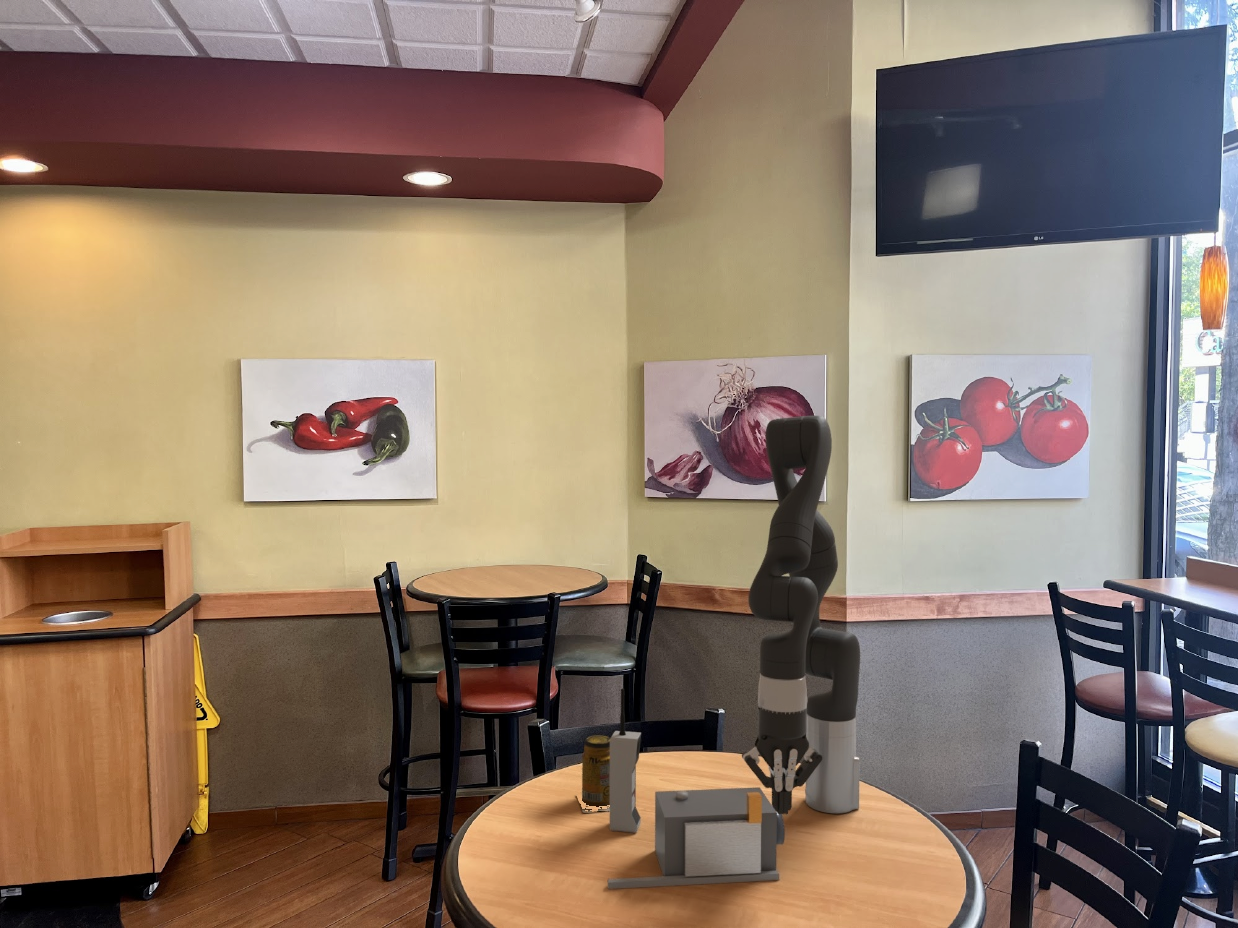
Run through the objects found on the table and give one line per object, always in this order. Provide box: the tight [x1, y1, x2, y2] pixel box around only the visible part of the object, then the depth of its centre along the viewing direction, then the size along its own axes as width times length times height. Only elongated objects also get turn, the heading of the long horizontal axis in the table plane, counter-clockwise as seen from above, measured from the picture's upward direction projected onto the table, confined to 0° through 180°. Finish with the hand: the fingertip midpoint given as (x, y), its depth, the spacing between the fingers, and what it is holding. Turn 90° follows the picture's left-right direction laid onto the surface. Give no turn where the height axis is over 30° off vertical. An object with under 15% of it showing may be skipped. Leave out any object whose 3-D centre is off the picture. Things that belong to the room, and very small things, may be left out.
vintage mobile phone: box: [609, 688, 642, 834], centre depth 151 cm, size 4×5×25 cm
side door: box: [684, 792, 762, 877], centre depth 133 cm, size 12×2×12 cm, turn 96°
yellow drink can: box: [579, 734, 611, 814], centre depth 162 cm, size 7×8×12 cm
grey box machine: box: [607, 786, 786, 890], centre depth 138 cm, size 29×12×11 cm, turn 96°
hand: (781, 811), depth 133 cm, fingers closed
